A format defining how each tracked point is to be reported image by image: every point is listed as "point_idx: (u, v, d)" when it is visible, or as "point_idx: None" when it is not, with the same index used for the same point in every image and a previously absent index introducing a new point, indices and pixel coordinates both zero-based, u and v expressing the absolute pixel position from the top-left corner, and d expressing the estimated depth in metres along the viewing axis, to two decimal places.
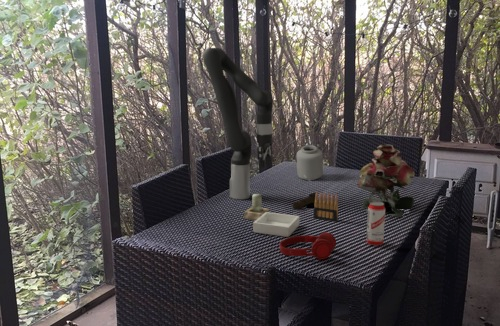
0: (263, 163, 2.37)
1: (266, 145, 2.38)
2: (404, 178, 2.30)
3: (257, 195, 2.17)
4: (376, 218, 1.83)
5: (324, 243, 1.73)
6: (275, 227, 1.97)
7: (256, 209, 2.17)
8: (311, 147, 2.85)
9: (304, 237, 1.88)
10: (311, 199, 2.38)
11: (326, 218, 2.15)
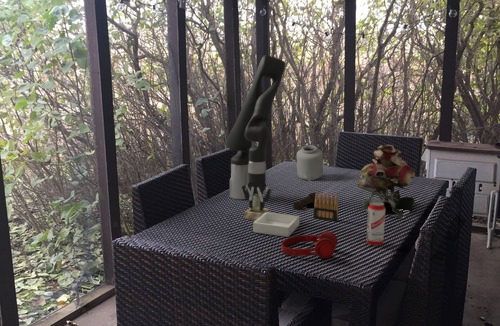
0: None
1: None
2: (405, 178, 2.29)
3: (257, 195, 2.17)
4: (376, 218, 1.83)
5: (327, 242, 1.74)
6: (275, 227, 1.97)
7: (256, 209, 2.17)
8: (311, 147, 2.85)
9: (305, 237, 1.88)
10: (311, 199, 2.38)
11: (326, 218, 2.15)
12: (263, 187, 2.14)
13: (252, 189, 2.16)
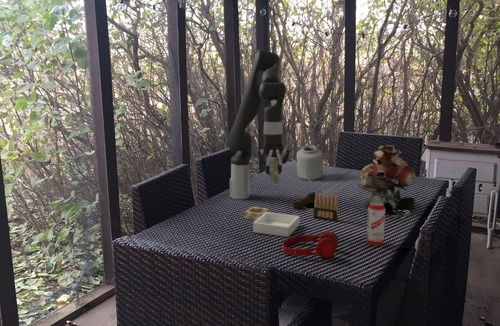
0: None
1: None
2: (405, 179, 2.29)
3: (274, 158, 2.02)
4: (376, 218, 1.83)
5: (329, 242, 1.74)
6: (275, 227, 1.97)
7: (275, 173, 2.02)
8: (311, 147, 2.85)
9: (305, 237, 1.88)
10: (310, 199, 2.38)
11: (326, 218, 2.15)
12: (282, 149, 2.01)
13: (270, 152, 2.00)
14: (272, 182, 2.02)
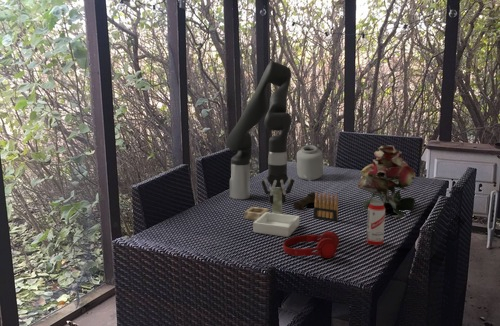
0: None
1: None
2: (405, 179, 2.28)
3: (278, 188, 2.01)
4: (376, 218, 1.83)
5: (329, 242, 1.74)
6: (275, 227, 1.97)
7: (279, 203, 2.01)
8: (311, 147, 2.85)
9: (306, 237, 1.88)
10: (310, 199, 2.38)
11: (326, 218, 2.15)
12: (286, 179, 2.00)
13: (274, 182, 1.99)
14: (275, 212, 2.01)
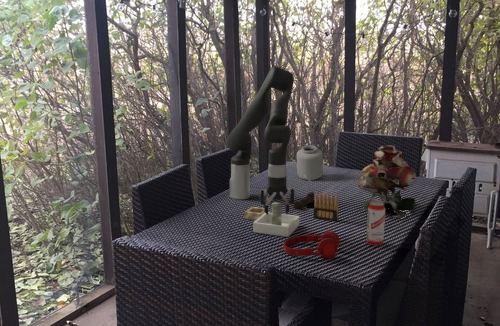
0: None
1: None
2: (405, 179, 2.28)
3: (277, 204, 2.02)
4: (376, 218, 1.83)
5: (330, 242, 1.74)
6: (275, 227, 1.97)
7: (279, 218, 2.02)
8: (311, 147, 2.85)
9: (306, 236, 1.88)
10: (310, 199, 2.38)
11: (326, 218, 2.15)
12: (285, 190, 2.01)
13: (273, 194, 2.00)
14: None
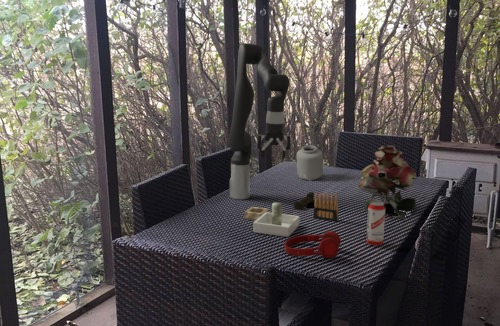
0: None
1: None
2: (406, 179, 2.28)
3: (278, 204, 2.02)
4: (376, 218, 1.83)
5: (331, 242, 1.74)
6: (275, 227, 1.97)
7: (279, 218, 2.02)
8: (311, 147, 2.85)
9: (307, 237, 1.88)
10: (310, 199, 2.38)
11: (326, 218, 2.15)
12: (282, 137, 2.13)
13: (270, 140, 2.12)
14: None
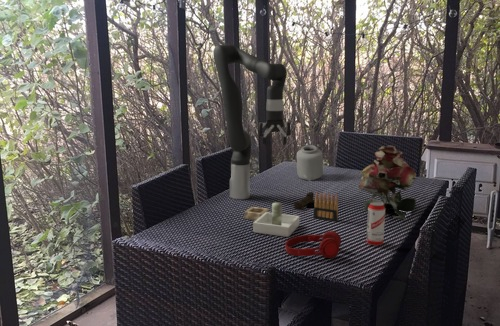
0: None
1: None
2: (406, 179, 2.27)
3: (278, 204, 2.02)
4: (376, 218, 1.83)
5: (332, 242, 1.74)
6: (275, 227, 1.97)
7: (279, 218, 2.02)
8: (311, 147, 2.85)
9: (307, 236, 1.88)
10: (309, 198, 2.38)
11: (326, 218, 2.15)
12: (282, 124, 2.22)
13: (271, 127, 2.21)
14: None
